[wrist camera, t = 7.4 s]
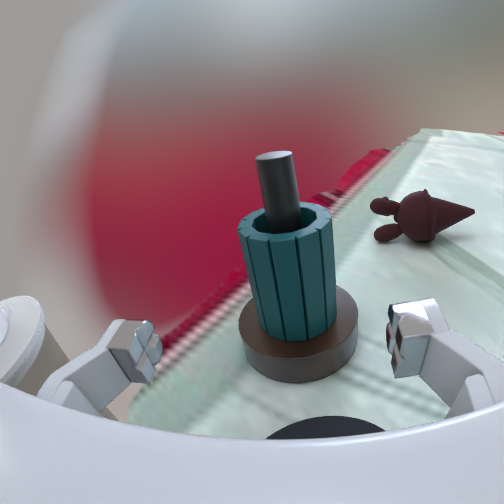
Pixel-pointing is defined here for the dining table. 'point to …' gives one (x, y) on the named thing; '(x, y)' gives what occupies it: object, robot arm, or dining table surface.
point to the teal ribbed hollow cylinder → (292, 273)
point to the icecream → (417, 216)
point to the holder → (253, 335)
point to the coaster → (325, 428)
